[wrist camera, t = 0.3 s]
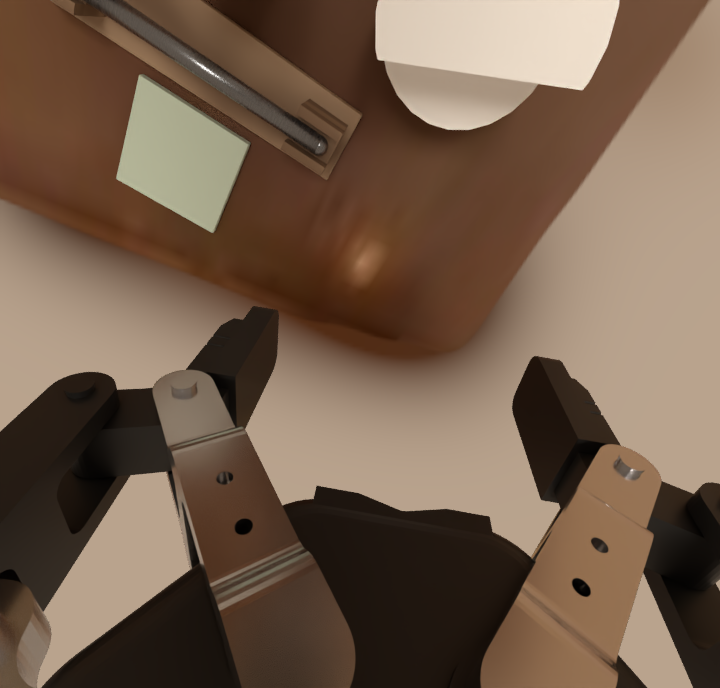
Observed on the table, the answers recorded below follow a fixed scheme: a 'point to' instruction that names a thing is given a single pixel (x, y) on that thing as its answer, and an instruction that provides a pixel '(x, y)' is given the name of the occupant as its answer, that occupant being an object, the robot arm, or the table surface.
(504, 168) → the table surface
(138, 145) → the sage mat
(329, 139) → the rail stand
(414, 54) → the cylinder with rectangular tab
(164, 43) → the metal rod
